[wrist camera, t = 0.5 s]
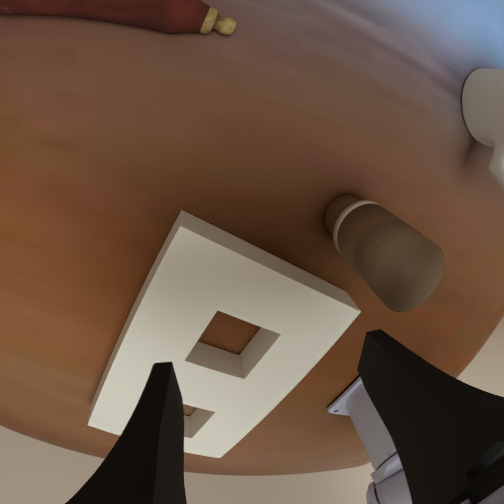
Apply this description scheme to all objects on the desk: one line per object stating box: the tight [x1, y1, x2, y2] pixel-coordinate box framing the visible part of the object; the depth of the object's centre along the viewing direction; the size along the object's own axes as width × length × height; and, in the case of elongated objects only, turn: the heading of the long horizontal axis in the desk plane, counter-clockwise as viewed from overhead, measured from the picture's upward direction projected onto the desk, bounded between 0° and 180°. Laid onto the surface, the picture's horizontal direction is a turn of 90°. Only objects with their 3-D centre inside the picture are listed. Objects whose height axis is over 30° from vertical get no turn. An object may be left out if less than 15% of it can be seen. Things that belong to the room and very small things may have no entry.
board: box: [88, 210, 361, 458], centre depth 22 cm, size 13×20×2 cm, turn 148°
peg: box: [324, 194, 445, 312], centre depth 17 cm, size 4×4×8 cm
